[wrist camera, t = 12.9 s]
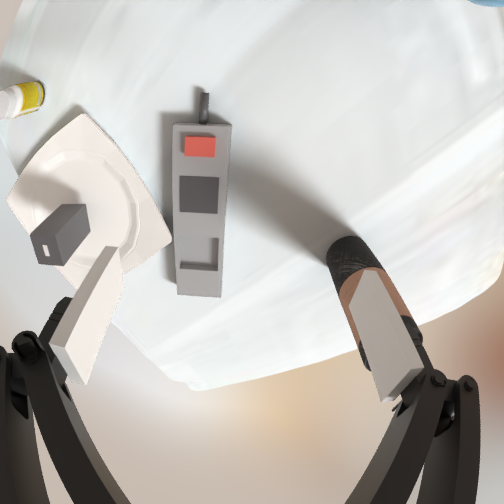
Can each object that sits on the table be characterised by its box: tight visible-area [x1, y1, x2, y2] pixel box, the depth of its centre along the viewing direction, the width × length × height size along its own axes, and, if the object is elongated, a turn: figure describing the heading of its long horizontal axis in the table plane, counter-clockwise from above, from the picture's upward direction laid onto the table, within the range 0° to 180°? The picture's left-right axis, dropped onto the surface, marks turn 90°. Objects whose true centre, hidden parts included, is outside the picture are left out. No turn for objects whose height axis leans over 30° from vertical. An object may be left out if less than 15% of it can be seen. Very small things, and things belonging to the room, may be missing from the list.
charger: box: [30, 204, 91, 266], centre depth 33 cm, size 4×4×9 cm
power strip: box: [172, 93, 232, 298], centre depth 38 cm, size 30×7×3 cm, turn 174°
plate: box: [7, 113, 172, 290], centre depth 38 cm, size 24×24×3 cm
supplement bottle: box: [0, 81, 47, 120], centre depth 24 cm, size 5×5×8 cm
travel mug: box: [327, 236, 423, 371], centre depth 36 cm, size 8×8×20 cm
